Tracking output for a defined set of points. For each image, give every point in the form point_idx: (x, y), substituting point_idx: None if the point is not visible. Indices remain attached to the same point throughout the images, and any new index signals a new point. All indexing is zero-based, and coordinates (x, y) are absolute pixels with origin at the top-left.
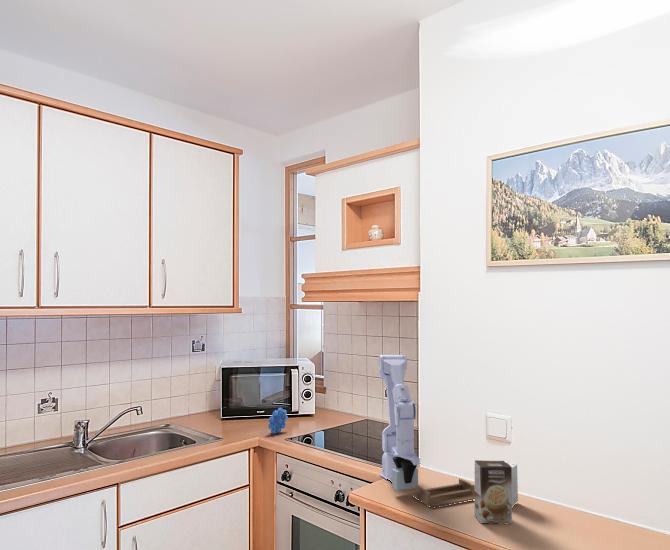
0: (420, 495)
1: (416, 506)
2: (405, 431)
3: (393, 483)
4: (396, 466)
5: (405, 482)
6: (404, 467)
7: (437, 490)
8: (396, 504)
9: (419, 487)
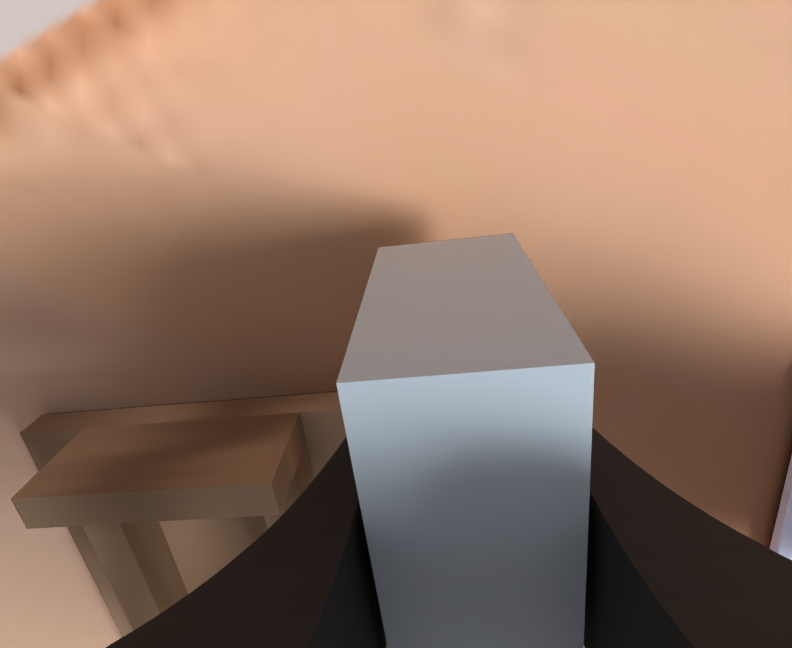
0: (192, 439)
1: (115, 318)
2: None
3: (485, 256)
4: (681, 520)
5: None
6: (180, 617)
7: None
8: (191, 129)
9: (215, 501)
